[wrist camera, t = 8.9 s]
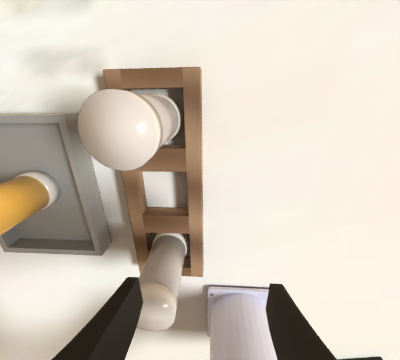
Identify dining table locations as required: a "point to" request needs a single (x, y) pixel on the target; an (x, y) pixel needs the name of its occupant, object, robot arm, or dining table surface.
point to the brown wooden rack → (167, 165)
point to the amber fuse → (25, 197)
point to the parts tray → (66, 179)
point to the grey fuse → (162, 281)
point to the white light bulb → (127, 126)
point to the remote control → (371, 359)
